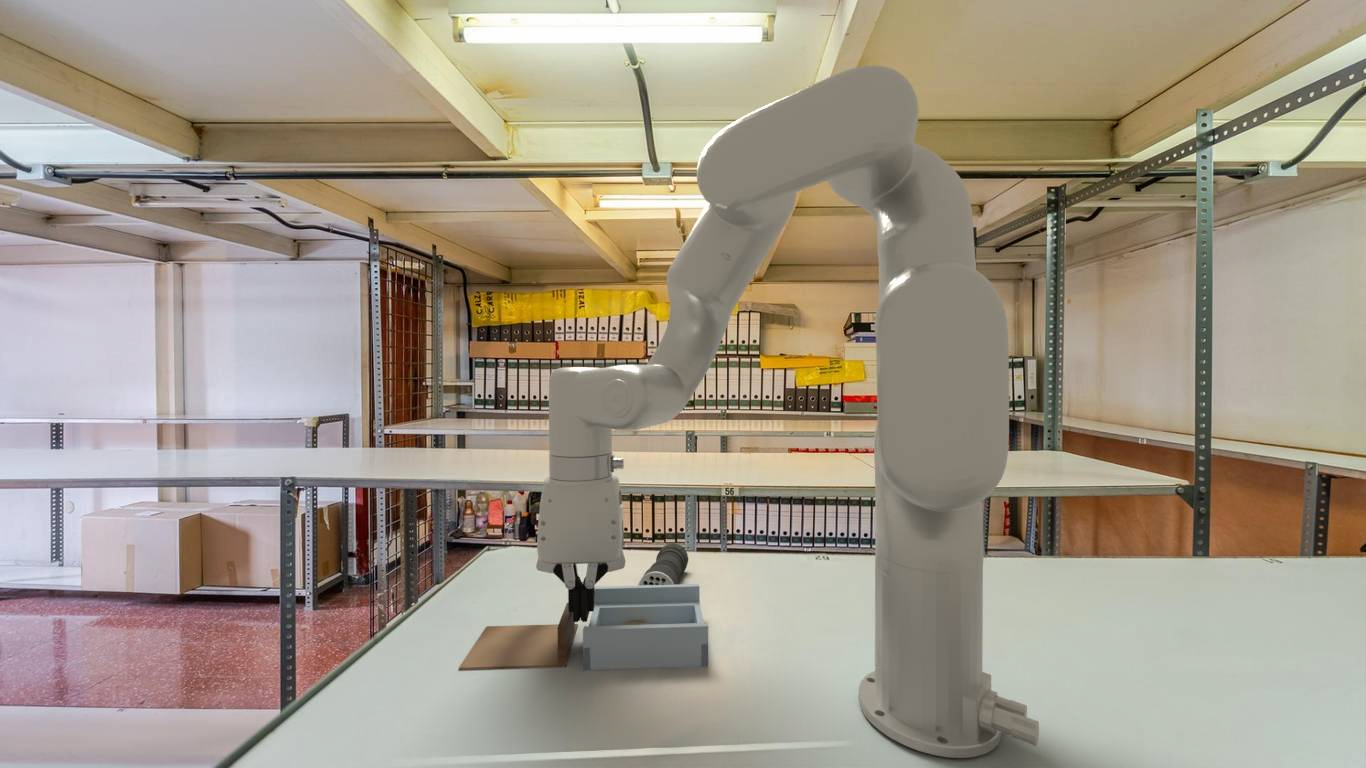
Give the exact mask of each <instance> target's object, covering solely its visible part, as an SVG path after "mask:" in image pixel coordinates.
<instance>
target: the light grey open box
mask: <svg viewBox="0 0 1366 768" xmlns="http://www.w3.org/2000/svg"><path fill="white" fill-rule="evenodd" d="M594 587H595V605H594V611H591V616H590V619H589V623H588V626H587V625H586V626H583V629H582V648H583V649H582V662H583V663H582V667H583V668H582V669H583V670H582V671H612V670H613V671H614V670H617V671H618V670H640V669H641V670H642V669H643V670H645V669H647V670H648V669H674V668H675V669H676V668H698V667H699V668H700V667H701V668H704V667H705V668H706V667H709V625H708V622H705V621H704V616H703V612H702V606H701V602H700V584H699V583H684V584H678V585H664V584H662V585H639V584H638V585H605V586H604V585H603V586H602V585H601V586H594ZM631 621H643V622H647V623H649V624H650V625H622V624H624V623H627V622H631Z"/></svg>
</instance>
